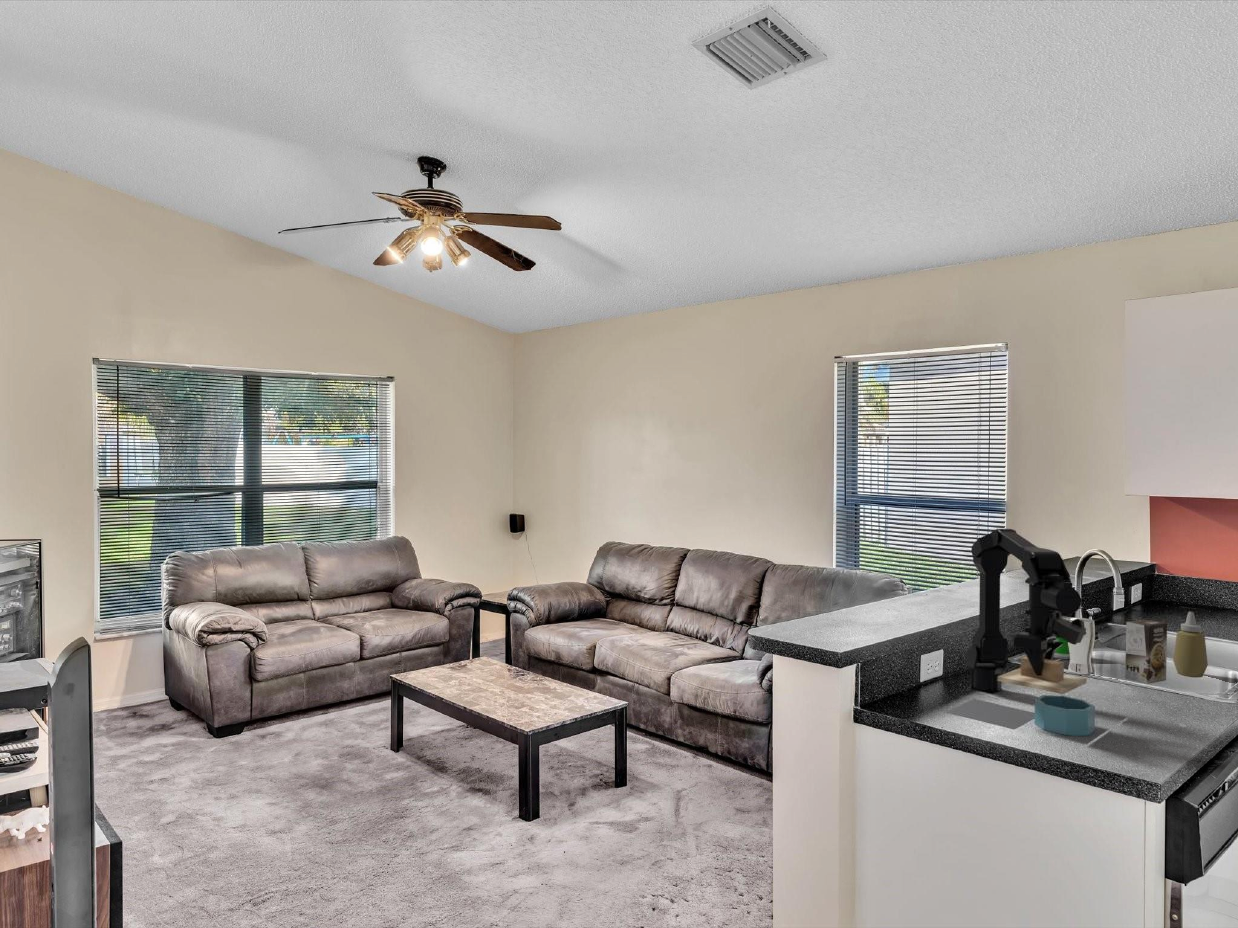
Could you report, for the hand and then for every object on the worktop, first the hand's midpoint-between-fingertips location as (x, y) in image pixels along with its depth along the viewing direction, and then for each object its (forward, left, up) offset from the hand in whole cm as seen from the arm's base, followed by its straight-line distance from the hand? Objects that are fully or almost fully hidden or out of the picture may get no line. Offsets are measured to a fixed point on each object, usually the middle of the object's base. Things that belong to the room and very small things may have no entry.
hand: (1042, 674), depth 185 cm
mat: (-11, -1, -12) cm, 16 cm away
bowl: (+5, +1, -12) cm, 13 cm away
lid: (0, 0, -2) cm, 2 cm away
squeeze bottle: (+12, +78, -12) cm, 80 cm away
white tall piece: (-11, +58, -12) cm, 60 cm away
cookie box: (+5, +63, -12) cm, 64 cm away
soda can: (-20, +73, -12) cm, 77 cm away
